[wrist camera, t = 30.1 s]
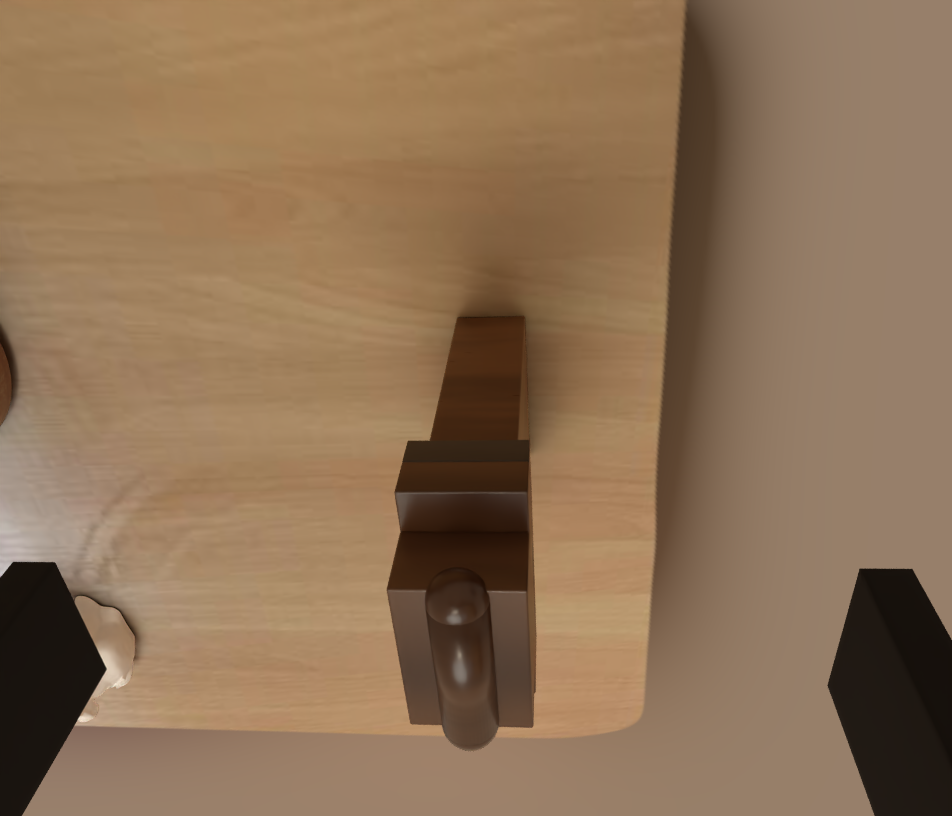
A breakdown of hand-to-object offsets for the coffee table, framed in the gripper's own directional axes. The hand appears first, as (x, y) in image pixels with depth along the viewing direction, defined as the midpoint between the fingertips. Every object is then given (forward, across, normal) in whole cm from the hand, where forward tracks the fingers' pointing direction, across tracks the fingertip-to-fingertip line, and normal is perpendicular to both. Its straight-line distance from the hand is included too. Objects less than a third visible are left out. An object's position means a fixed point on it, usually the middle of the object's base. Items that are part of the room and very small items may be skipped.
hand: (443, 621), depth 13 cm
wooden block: (+32, -2, -15) cm, 35 cm away
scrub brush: (+18, -2, -15) cm, 23 cm away
